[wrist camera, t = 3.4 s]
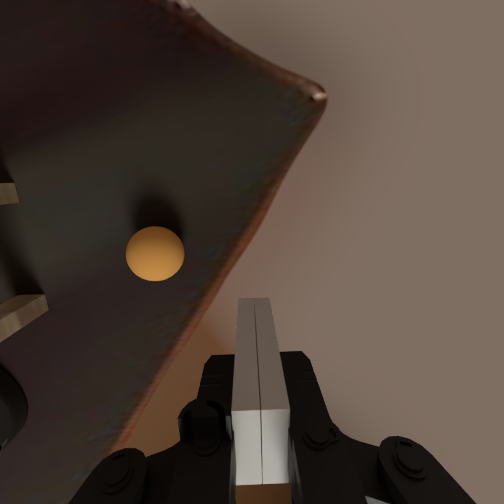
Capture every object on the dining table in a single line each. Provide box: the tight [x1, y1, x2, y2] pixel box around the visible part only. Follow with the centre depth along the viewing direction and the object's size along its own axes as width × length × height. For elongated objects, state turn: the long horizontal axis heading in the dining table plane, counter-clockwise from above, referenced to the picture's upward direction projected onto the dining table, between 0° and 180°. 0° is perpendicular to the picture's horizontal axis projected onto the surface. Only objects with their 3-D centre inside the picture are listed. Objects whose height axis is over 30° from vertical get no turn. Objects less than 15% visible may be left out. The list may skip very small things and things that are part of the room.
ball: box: [126, 226, 184, 281], centre depth 26 cm, size 6×6×6 cm
